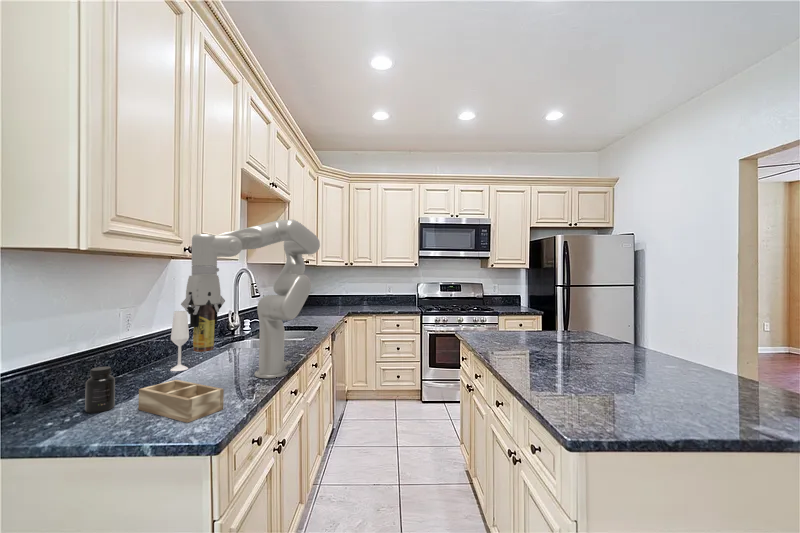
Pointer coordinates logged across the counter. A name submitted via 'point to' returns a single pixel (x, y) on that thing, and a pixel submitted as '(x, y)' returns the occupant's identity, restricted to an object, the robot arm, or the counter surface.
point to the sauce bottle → (204, 328)
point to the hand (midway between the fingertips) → (204, 324)
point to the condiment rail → (181, 400)
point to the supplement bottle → (100, 390)
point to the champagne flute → (179, 335)
